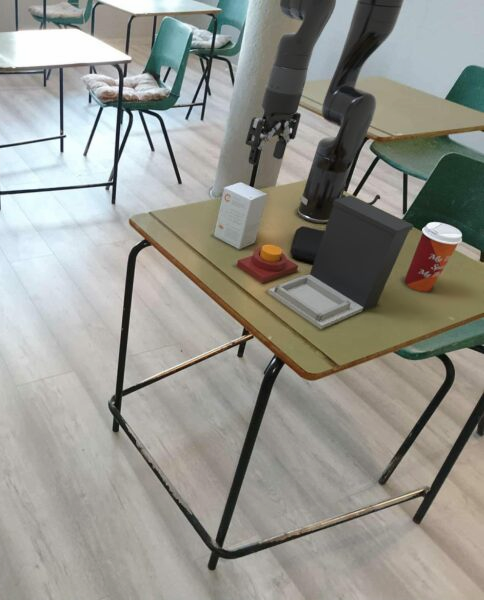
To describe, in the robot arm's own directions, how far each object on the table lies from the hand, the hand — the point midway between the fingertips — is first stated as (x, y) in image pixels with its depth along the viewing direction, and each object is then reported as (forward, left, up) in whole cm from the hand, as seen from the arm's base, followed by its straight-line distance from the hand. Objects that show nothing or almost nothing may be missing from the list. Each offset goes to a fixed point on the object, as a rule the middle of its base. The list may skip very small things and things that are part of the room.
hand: (265, 160), depth 130 cm
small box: (+4, 0, -20) cm, 20 cm away
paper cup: (-20, +34, -20) cm, 44 cm away
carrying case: (-10, +13, -20) cm, 26 cm away
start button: (+7, +13, -16) cm, 22 cm away
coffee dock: (+5, +28, -20) cm, 34 cm away
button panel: (+7, +14, -20) cm, 25 cm away
